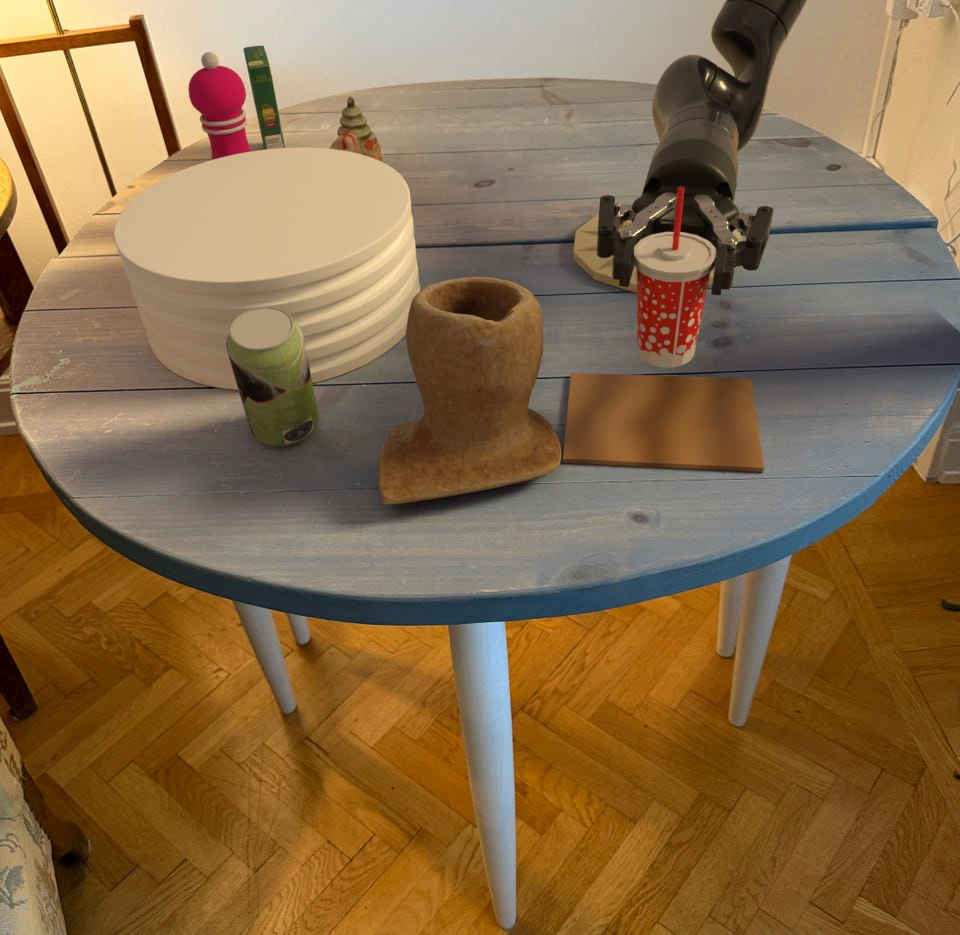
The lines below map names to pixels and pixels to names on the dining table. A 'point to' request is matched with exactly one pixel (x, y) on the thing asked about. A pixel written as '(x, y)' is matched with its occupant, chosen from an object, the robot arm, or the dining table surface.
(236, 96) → the pepper mill
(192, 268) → the plate stack
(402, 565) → the dining table surface
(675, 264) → the beverage cup
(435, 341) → the stone cup
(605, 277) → the tan faceted ring
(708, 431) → the cork mat
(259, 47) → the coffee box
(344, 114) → the ornament
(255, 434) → the beverage can
